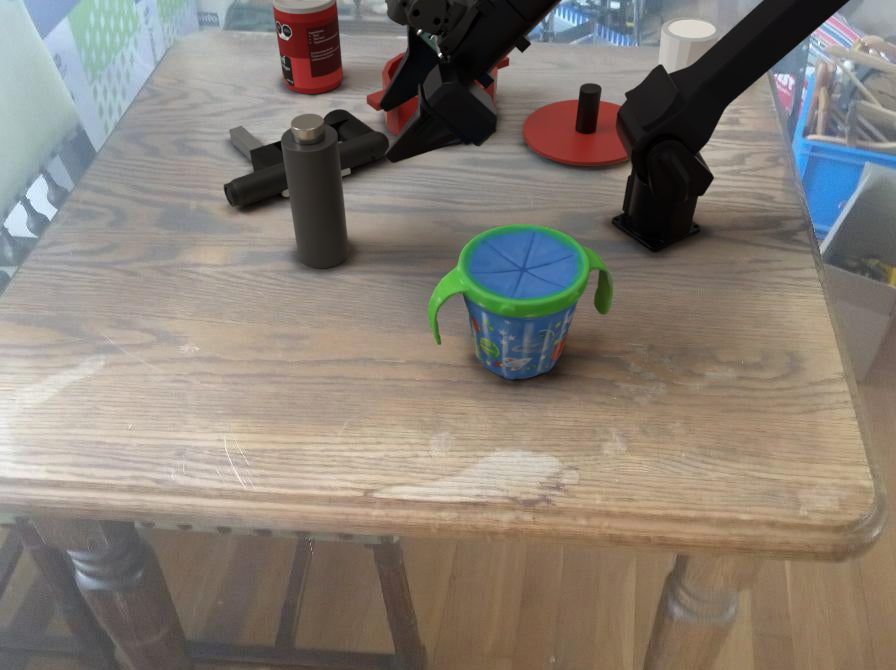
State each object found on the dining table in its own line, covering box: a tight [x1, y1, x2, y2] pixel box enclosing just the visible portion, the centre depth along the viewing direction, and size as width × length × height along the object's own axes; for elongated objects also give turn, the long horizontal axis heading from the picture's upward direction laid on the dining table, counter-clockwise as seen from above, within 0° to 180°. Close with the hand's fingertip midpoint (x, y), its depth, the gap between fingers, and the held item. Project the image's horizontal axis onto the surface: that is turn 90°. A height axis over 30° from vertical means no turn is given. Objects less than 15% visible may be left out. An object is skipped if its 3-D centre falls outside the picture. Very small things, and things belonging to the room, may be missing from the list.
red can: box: [272, 0, 344, 95], centre depth 110 cm, size 8×8×11 cm
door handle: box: [223, 108, 390, 208], centre depth 100 cm, size 3×20×16 cm
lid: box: [522, 82, 629, 167], centre depth 99 cm, size 14×14×6 cm
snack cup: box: [427, 223, 614, 381], centre depth 73 cm, size 16×10×10 cm
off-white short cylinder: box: [657, 16, 722, 74], centre depth 106 cm, size 7×7×7 cm
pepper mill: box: [280, 113, 350, 269], centre depth 83 cm, size 5×5×14 cm
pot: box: [366, 51, 510, 137], centre depth 104 cm, size 13×19×6 cm
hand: (385, 132), depth 79 cm, fingers open, 9 cm apart
